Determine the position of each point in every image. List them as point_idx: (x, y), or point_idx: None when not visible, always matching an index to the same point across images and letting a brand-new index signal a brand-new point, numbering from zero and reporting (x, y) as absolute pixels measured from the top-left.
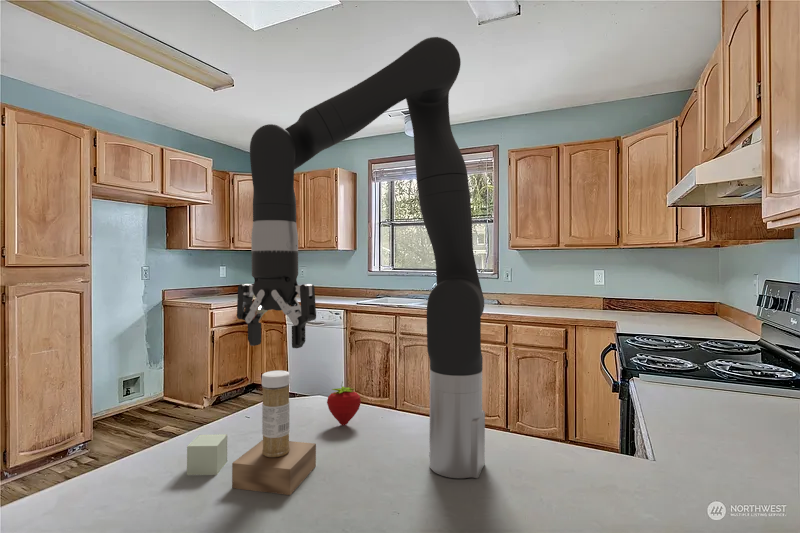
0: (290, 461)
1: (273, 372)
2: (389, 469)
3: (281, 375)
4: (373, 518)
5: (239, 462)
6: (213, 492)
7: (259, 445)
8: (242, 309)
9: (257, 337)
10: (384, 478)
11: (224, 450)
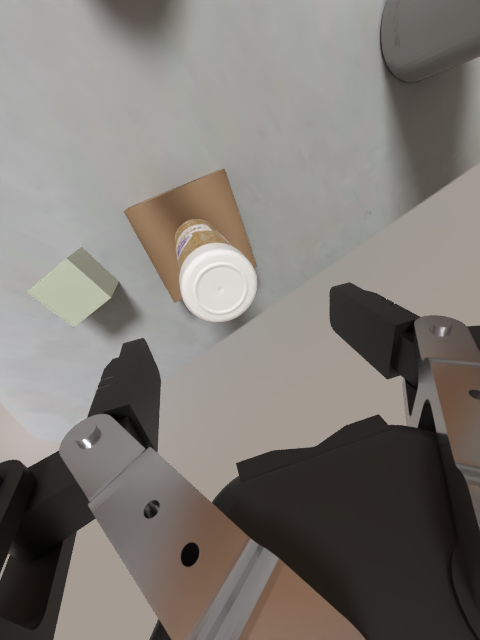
0: (239, 249)
1: (208, 288)
2: (324, 105)
3: (252, 294)
4: (350, 237)
5: (181, 295)
6: (164, 308)
7: (147, 238)
8: (61, 587)
9: (148, 372)
10: (329, 142)
11: (87, 264)
